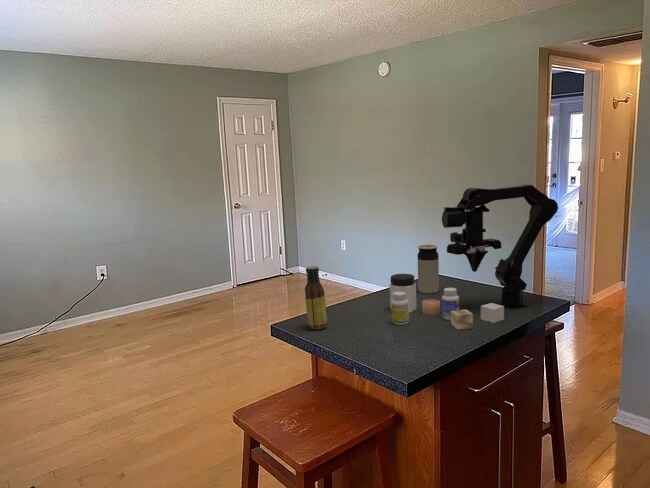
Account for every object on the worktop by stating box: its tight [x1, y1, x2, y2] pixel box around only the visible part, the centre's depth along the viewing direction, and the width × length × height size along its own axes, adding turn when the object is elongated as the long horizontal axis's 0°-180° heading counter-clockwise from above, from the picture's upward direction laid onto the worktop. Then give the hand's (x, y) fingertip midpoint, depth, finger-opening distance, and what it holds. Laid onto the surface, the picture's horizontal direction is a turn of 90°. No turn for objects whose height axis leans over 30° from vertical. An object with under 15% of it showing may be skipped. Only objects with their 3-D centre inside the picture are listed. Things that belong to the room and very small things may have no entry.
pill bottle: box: [441, 287, 460, 321], centre depth 161 cm, size 5×5×10 cm
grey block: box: [480, 302, 505, 324], centre depth 158 cm, size 5×5×4 cm
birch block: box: [450, 309, 474, 330], centre depth 153 cm, size 5×5×4 cm
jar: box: [389, 273, 417, 314], centre depth 172 cm, size 9×8×12 cm
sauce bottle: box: [304, 265, 328, 331], centre depth 158 cm, size 6×6×20 cm
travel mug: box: [417, 244, 440, 295], centre depth 193 cm, size 8×8×18 cm
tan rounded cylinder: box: [421, 298, 441, 317], centre depth 168 cm, size 6×6×4 cm
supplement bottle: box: [391, 292, 410, 326], centre depth 159 cm, size 5×5×10 cm
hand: (474, 271), depth 168 cm, fingers closed
